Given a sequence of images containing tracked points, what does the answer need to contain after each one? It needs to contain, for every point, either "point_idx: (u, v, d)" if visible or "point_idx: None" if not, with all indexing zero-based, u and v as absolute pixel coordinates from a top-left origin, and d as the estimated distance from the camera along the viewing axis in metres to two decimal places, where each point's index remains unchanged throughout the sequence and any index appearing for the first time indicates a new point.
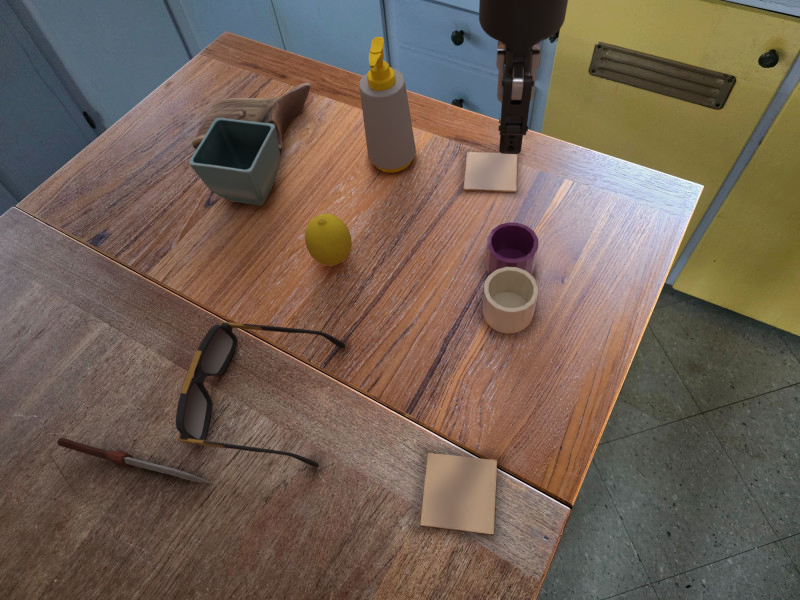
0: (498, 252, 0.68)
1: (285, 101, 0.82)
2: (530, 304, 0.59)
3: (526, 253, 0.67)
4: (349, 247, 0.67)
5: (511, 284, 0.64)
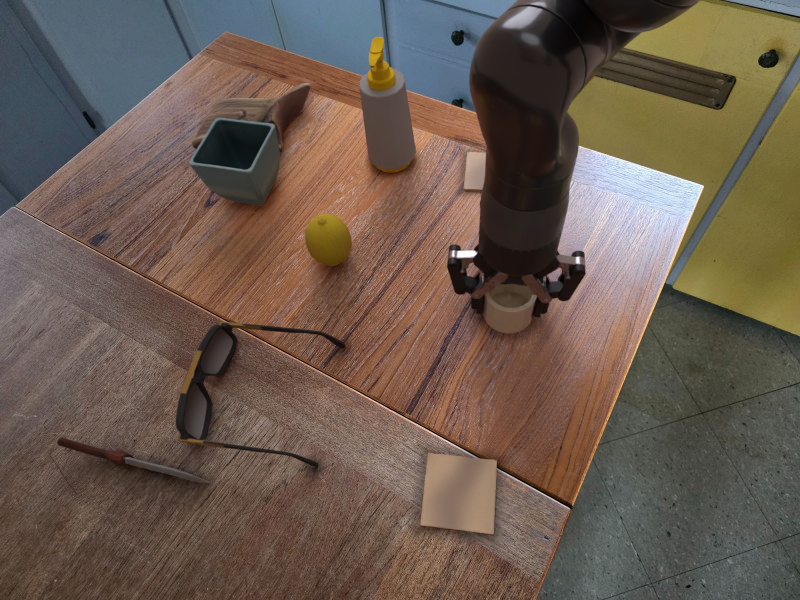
0: None
1: (285, 101, 0.82)
2: (530, 304, 0.59)
3: None
4: (349, 247, 0.67)
5: (511, 284, 0.64)
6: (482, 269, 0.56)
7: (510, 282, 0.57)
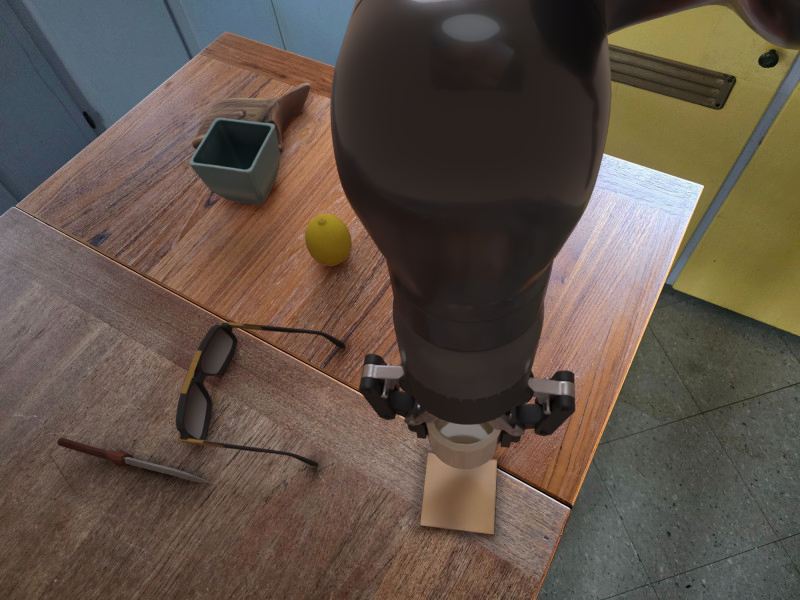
0: None
1: (285, 101, 0.82)
2: (492, 439, 0.39)
3: None
4: (349, 247, 0.67)
5: None
6: None
7: None
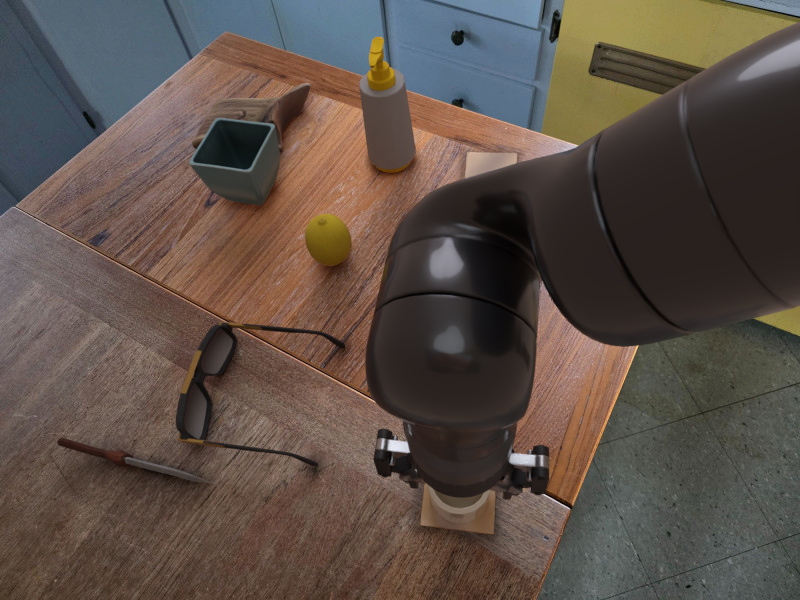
0: None
1: (285, 101, 0.82)
2: (481, 503, 0.49)
3: None
4: (349, 247, 0.67)
5: None
6: None
7: None
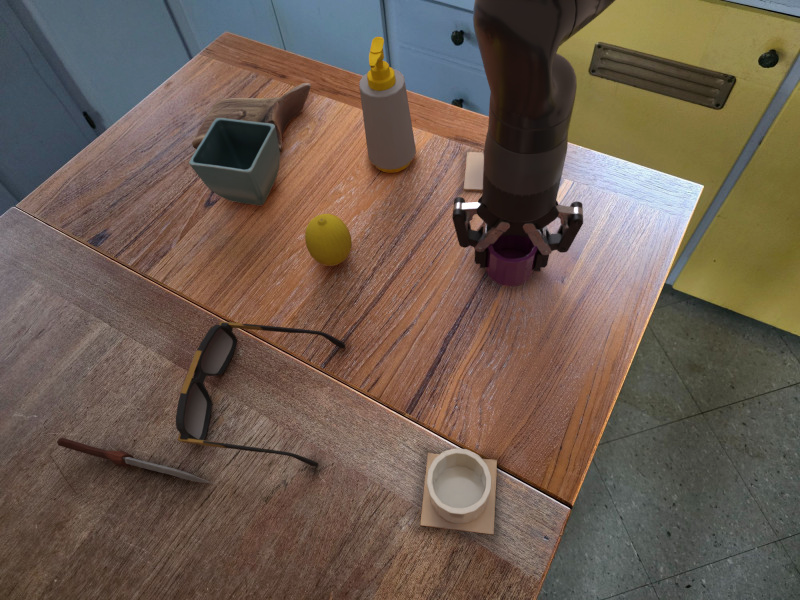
0: (498, 252, 0.68)
1: (285, 101, 0.82)
2: (481, 503, 0.49)
3: (526, 253, 0.67)
4: (349, 247, 0.67)
5: (463, 462, 0.54)
6: (485, 220, 0.59)
7: (512, 233, 0.60)
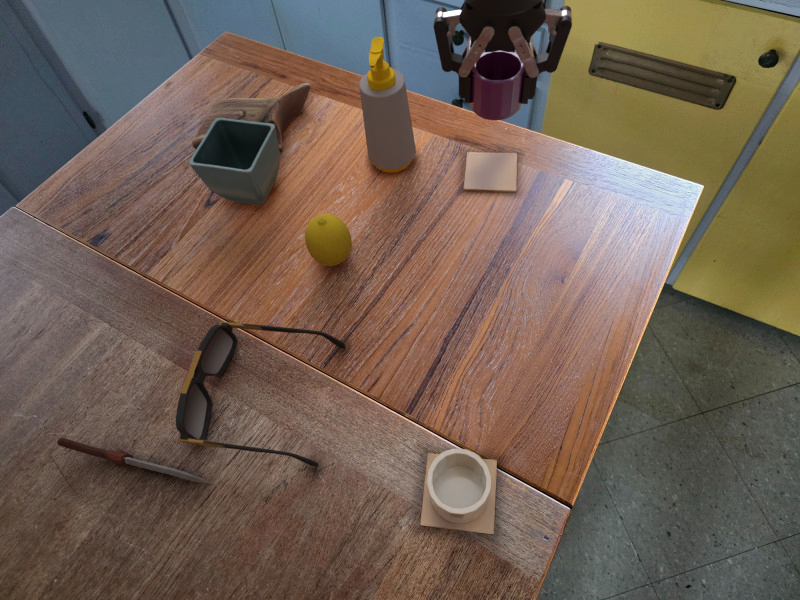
0: None
1: (285, 101, 0.82)
2: (481, 503, 0.49)
3: None
4: (349, 247, 0.67)
5: (463, 462, 0.54)
6: (469, 28, 0.56)
7: (497, 47, 0.57)
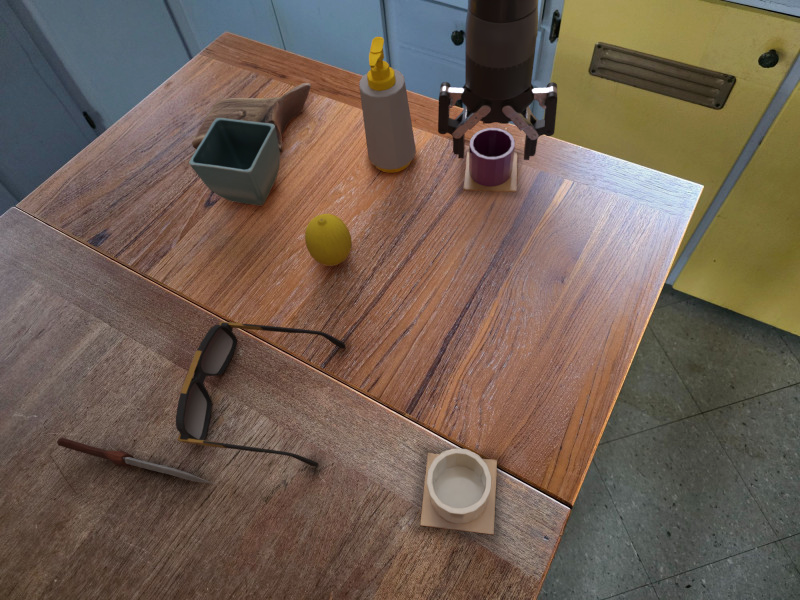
0: None
1: (285, 101, 0.82)
2: (481, 503, 0.49)
3: None
4: (349, 247, 0.67)
5: (463, 462, 0.54)
6: (469, 106, 0.66)
7: (493, 120, 0.67)
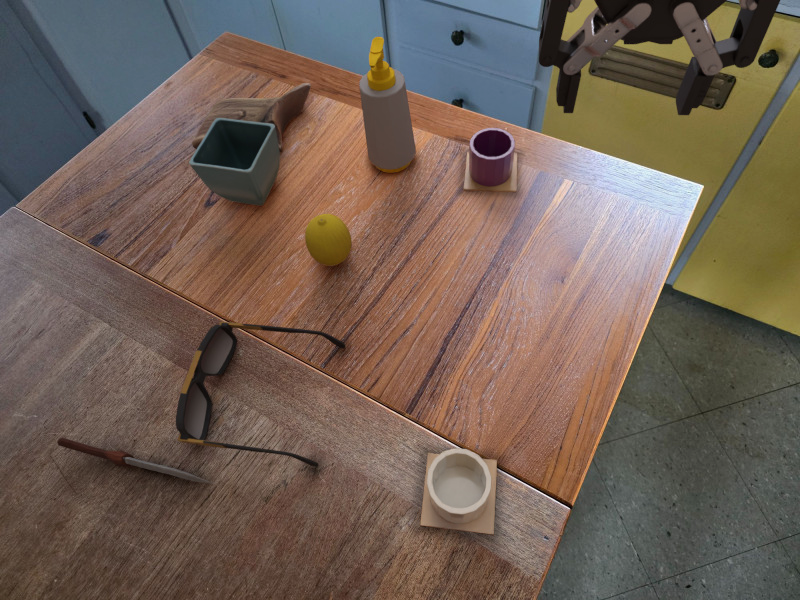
0: None
1: (285, 101, 0.82)
2: (481, 503, 0.49)
3: None
4: (349, 247, 0.67)
5: (463, 462, 0.54)
6: (607, 7, 0.36)
7: (646, 37, 0.37)
